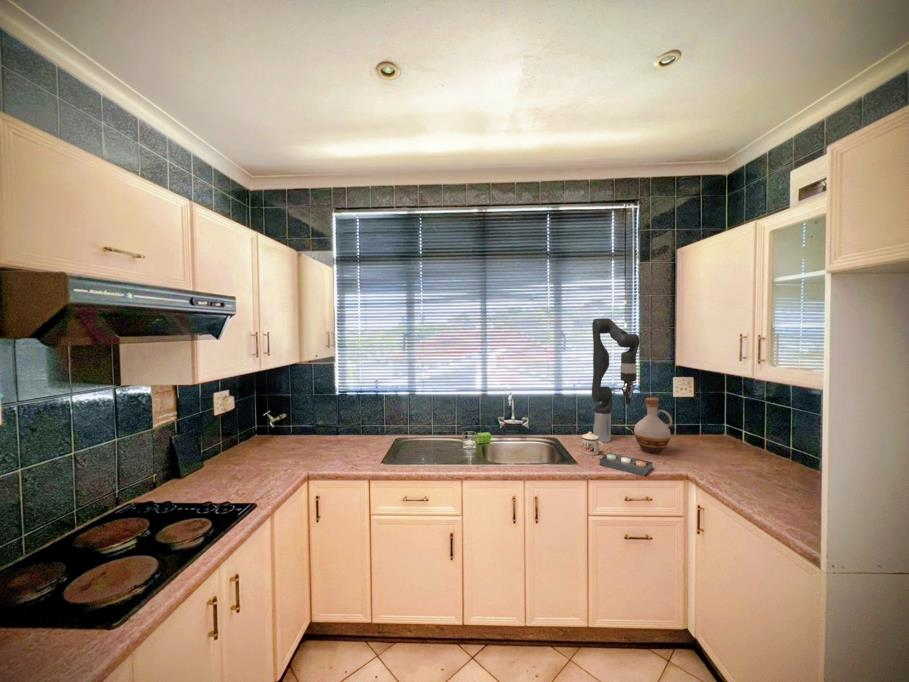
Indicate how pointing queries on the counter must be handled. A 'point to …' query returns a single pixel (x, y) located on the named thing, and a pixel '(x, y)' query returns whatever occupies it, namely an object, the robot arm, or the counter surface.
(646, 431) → the jug
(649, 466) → the panel
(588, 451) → the teacup with lid
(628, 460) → the ivory button
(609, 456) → the sage button
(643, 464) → the orange rounded piece
